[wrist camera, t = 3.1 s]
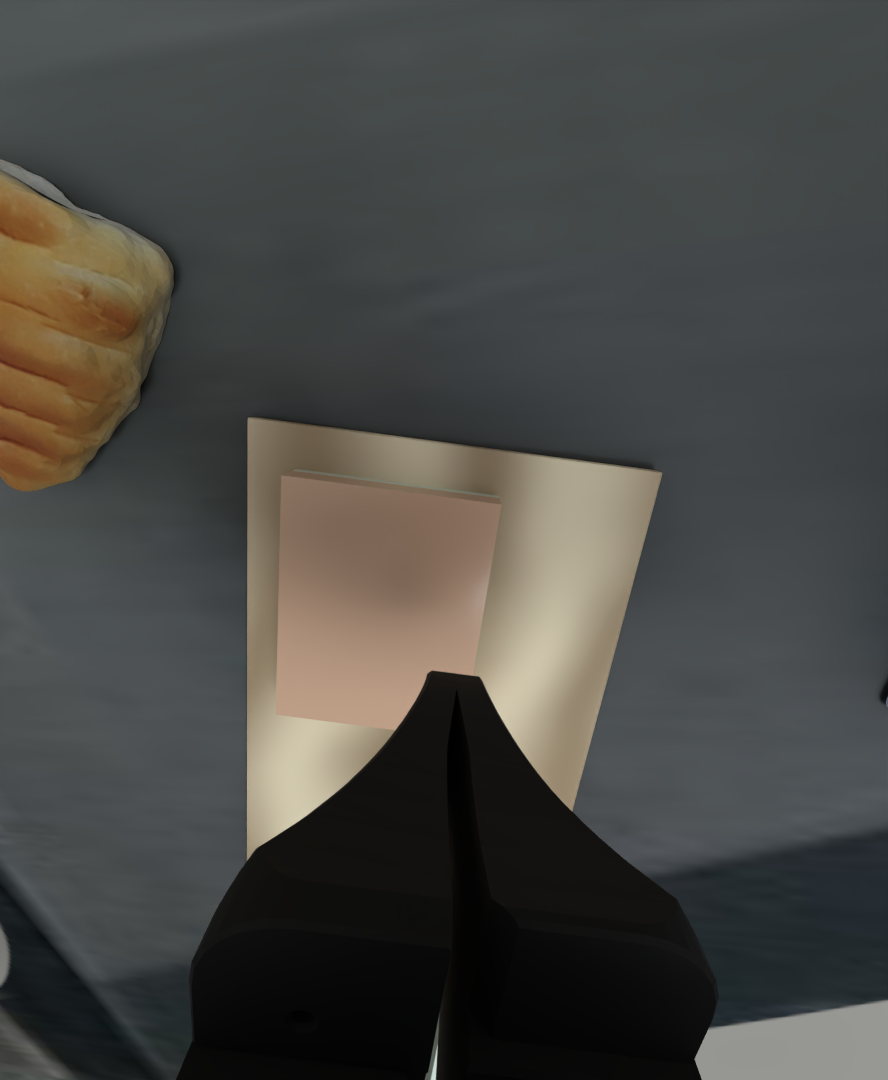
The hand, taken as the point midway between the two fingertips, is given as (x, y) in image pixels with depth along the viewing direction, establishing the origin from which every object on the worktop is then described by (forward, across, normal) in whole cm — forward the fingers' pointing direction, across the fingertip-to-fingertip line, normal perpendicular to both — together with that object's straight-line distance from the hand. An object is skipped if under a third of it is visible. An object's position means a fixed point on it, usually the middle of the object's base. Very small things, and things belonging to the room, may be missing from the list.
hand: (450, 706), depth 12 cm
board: (+6, +1, +6) cm, 9 cm away
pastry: (+7, +14, -8) cm, 17 cm away
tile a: (+5, -1, 0) cm, 5 cm away
